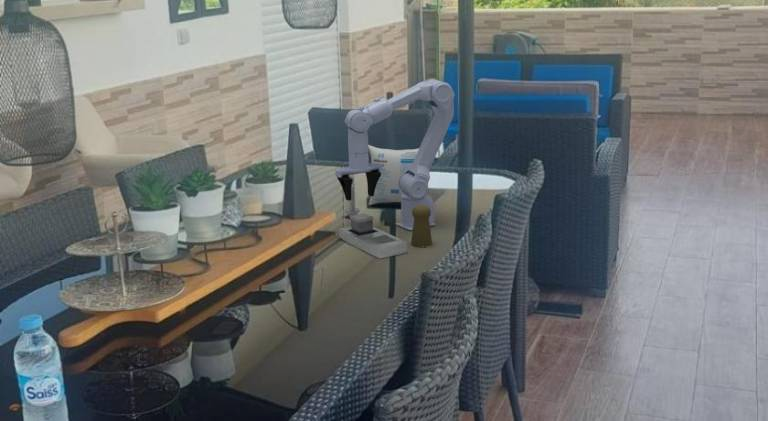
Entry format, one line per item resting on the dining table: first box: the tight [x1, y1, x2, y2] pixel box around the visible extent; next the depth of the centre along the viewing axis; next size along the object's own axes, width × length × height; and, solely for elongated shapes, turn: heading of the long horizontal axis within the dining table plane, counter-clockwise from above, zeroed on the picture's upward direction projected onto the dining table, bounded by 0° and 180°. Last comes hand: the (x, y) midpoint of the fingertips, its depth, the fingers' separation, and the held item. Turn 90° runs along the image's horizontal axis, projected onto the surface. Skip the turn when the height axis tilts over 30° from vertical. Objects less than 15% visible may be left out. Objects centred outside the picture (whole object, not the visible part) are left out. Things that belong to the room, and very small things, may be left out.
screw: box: [344, 175, 361, 219], centre depth 281 cm, size 13×5×5 cm
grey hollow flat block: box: [338, 225, 408, 260], centre depth 255 cm, size 9×22×3 cm, turn 32°
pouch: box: [368, 144, 419, 206], centre depth 291 cm, size 8×19×20 cm, turn 74°
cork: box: [410, 205, 433, 248], centre depth 254 cm, size 6×6×11 cm
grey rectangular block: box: [349, 212, 374, 236], centre depth 258 cm, size 5×5×7 cm
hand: (359, 197), depth 265 cm, fingers open, 7 cm apart
